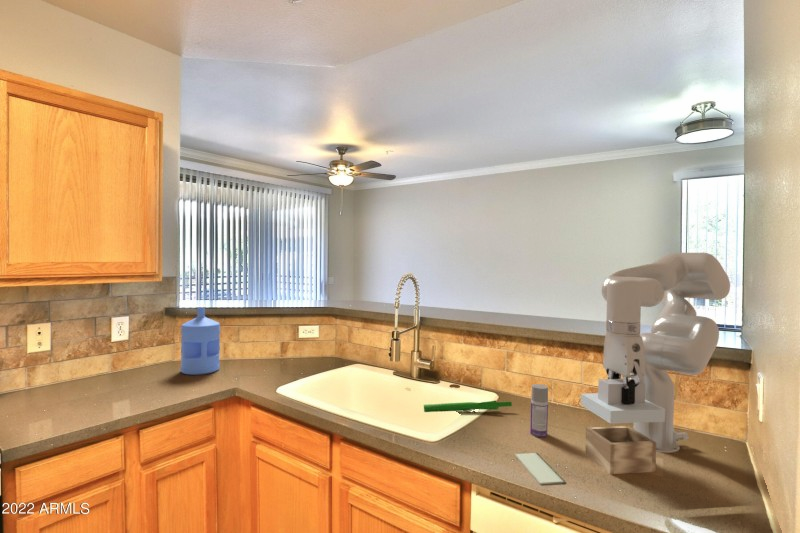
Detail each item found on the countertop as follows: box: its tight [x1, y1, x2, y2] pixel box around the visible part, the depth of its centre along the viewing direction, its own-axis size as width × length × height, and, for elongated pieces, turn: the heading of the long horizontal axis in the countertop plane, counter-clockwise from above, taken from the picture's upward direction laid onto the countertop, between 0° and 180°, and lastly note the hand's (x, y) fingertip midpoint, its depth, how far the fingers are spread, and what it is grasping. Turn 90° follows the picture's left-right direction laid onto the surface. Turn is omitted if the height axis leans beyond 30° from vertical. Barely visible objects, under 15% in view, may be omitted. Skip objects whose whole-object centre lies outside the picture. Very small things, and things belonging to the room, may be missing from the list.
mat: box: [514, 452, 567, 485], centre depth 102 cm, size 16×14×1 cm
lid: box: [580, 378, 665, 424], centre depth 103 cm, size 14×12×8 cm
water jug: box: [180, 307, 221, 376], centre depth 182 cm, size 16×16×28 cm
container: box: [529, 383, 549, 439], centre depth 119 cm, size 5×5×15 cm
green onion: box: [423, 400, 513, 413], centre depth 139 cm, size 5×3×30 cm
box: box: [584, 425, 657, 475], centre depth 103 cm, size 12×10×8 cm
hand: (621, 399), depth 103 cm, fingers closed on lid, 4 cm apart
